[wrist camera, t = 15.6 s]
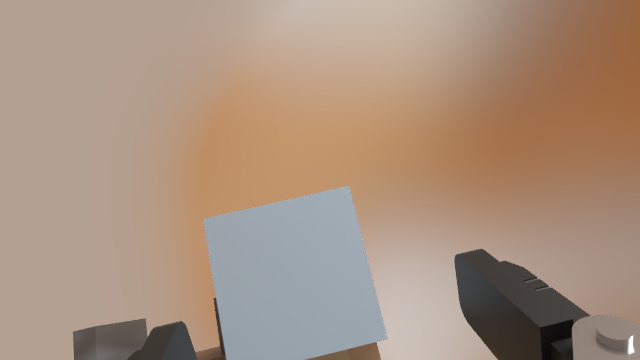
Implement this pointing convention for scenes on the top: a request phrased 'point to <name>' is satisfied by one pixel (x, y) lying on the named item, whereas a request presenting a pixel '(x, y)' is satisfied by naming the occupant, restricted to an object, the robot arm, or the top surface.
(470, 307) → the robot arm
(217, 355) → the stand
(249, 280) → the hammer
